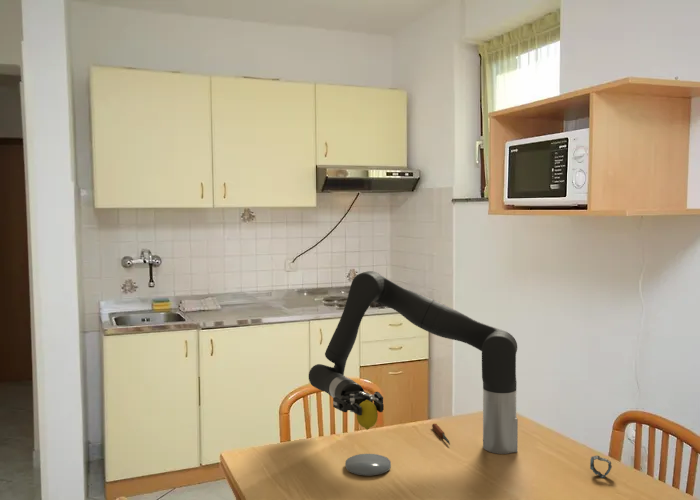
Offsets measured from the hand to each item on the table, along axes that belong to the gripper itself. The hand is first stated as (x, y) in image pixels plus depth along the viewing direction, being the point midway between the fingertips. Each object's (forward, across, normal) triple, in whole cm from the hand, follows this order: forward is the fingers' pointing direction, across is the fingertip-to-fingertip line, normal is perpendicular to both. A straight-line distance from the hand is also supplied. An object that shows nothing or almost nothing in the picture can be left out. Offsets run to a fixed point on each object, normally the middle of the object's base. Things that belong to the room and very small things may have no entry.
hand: (371, 410), depth 161 cm
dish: (-2, 0, +16) cm, 17 cm away
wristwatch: (+27, +51, +16) cm, 60 cm away
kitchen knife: (-13, +29, +17) cm, 36 cm away
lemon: (-3, 0, +6) cm, 7 cm away
